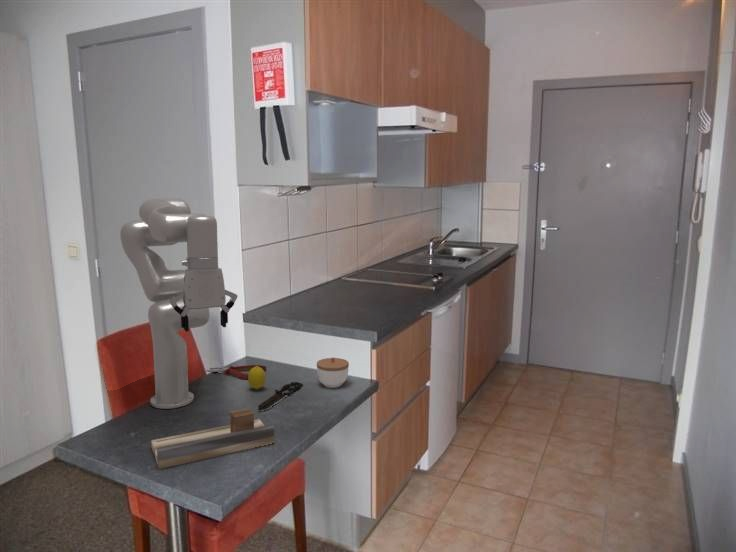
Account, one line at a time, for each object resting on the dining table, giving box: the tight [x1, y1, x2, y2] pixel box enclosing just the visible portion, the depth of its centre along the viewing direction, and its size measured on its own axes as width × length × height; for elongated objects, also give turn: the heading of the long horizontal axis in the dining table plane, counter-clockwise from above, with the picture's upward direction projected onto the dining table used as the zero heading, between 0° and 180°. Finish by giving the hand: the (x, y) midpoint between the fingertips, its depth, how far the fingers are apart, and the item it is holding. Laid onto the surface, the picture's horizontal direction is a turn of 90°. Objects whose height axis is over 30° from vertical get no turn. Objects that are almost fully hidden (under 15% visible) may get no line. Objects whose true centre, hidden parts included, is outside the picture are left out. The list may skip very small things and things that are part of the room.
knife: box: [257, 381, 304, 412], centre depth 171 cm, size 25×6×1 cm, turn 155°
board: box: [150, 418, 275, 470], centre depth 139 cm, size 13×28×4 cm, turn 119°
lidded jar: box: [316, 357, 350, 389], centre depth 183 cm, size 11×11×9 cm
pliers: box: [205, 364, 267, 381], centre depth 193 cm, size 12×20×3 cm, turn 81°
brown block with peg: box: [229, 407, 255, 433], centre depth 142 cm, size 9×5×6 cm, turn 29°
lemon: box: [247, 366, 266, 391], centre depth 177 cm, size 6×6×8 cm
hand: (205, 328), depth 143 cm, fingers open, 9 cm apart
